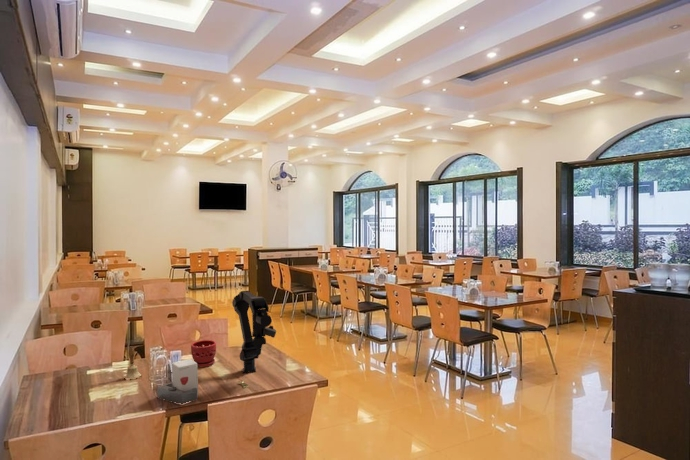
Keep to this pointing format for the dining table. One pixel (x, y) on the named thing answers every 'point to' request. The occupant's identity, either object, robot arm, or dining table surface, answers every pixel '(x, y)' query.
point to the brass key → (243, 384)
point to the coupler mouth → (176, 394)
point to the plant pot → (203, 352)
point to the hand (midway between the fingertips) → (259, 354)
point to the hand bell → (132, 366)
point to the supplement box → (185, 375)
